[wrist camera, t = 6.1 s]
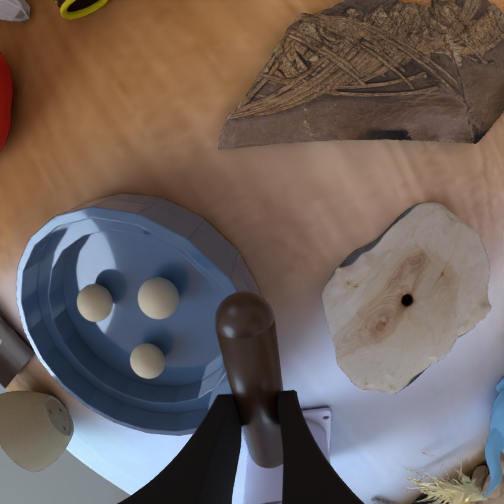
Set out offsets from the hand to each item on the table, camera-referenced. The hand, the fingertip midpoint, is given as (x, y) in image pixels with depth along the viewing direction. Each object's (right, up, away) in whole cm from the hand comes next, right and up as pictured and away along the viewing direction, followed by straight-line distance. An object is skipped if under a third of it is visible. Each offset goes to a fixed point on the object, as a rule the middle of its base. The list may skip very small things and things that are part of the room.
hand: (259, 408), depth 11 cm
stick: (0, +1, +1) cm, 1 cm away
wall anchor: (+20, -32, +21) cm, 43 cm away
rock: (+10, +4, +8) cm, 13 cm away
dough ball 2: (-6, +3, +7) cm, 10 cm away
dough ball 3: (-8, -2, +9) cm, 12 cm away
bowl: (-8, +2, +10) cm, 13 cm away
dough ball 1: (-11, +3, +8) cm, 14 cm away
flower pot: (-20, -11, +13) cm, 27 cm away
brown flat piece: (+10, +17, +3) cm, 20 cm away
